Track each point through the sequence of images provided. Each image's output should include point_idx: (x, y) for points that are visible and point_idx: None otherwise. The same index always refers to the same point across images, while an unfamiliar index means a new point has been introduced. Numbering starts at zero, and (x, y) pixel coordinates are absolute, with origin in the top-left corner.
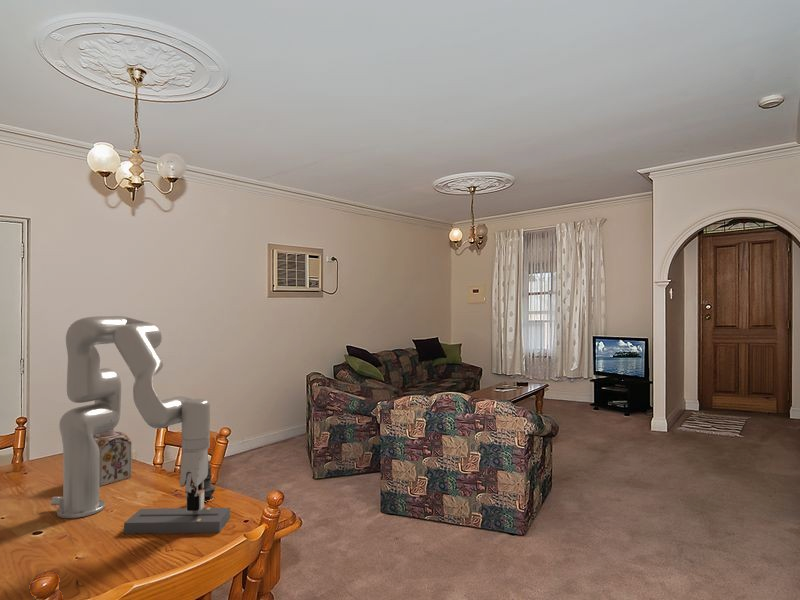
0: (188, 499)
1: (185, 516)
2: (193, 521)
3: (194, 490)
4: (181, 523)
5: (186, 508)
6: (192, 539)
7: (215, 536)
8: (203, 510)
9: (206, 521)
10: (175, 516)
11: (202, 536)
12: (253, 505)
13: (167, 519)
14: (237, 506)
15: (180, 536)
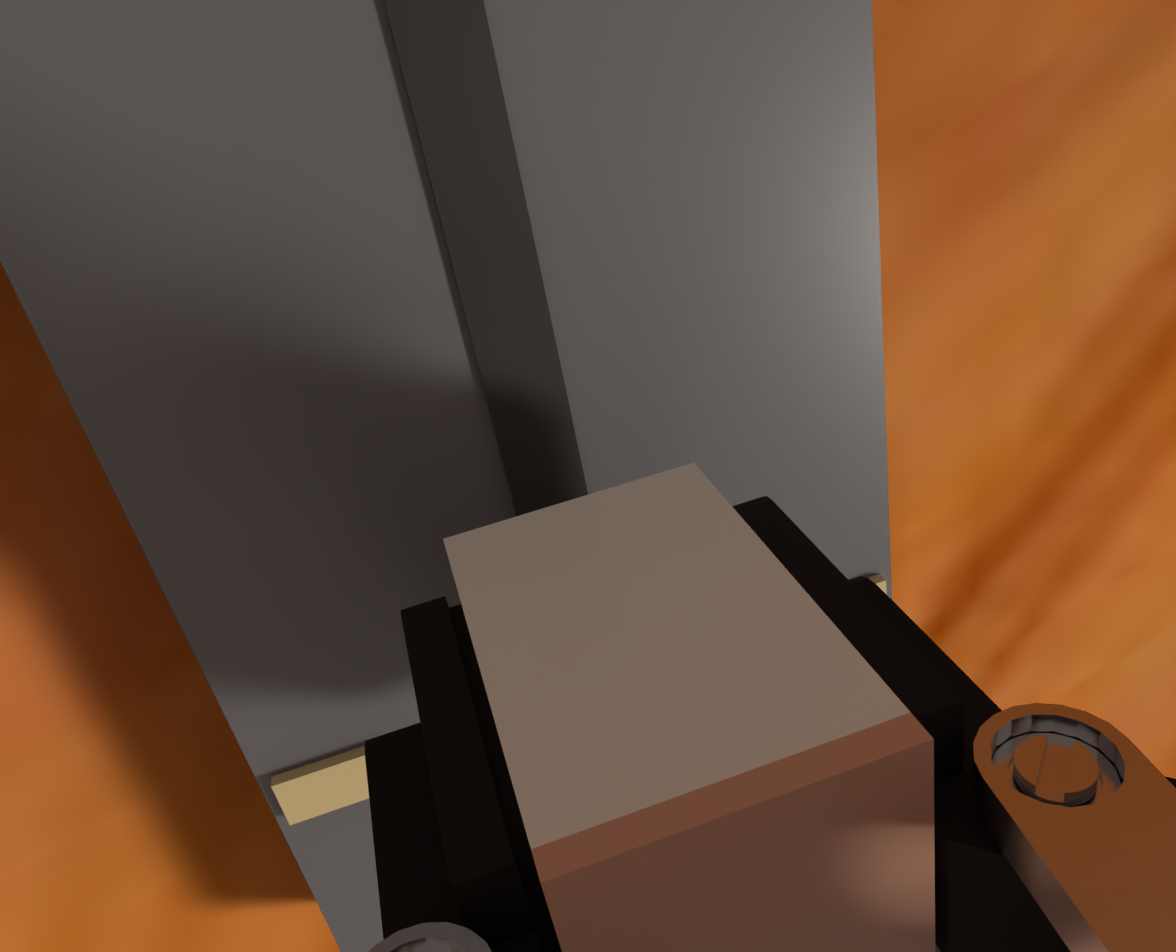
0: (449, 836)
1: (442, 437)
2: (258, 730)
3: (871, 890)
4: (148, 532)
5: (452, 568)
6: (30, 748)
7: (248, 926)
8: None
9: (330, 901)
10: (387, 212)
11: (185, 799)
12: (1169, 745)
13: (158, 117)
14: (1169, 604)
15: (44, 515)
